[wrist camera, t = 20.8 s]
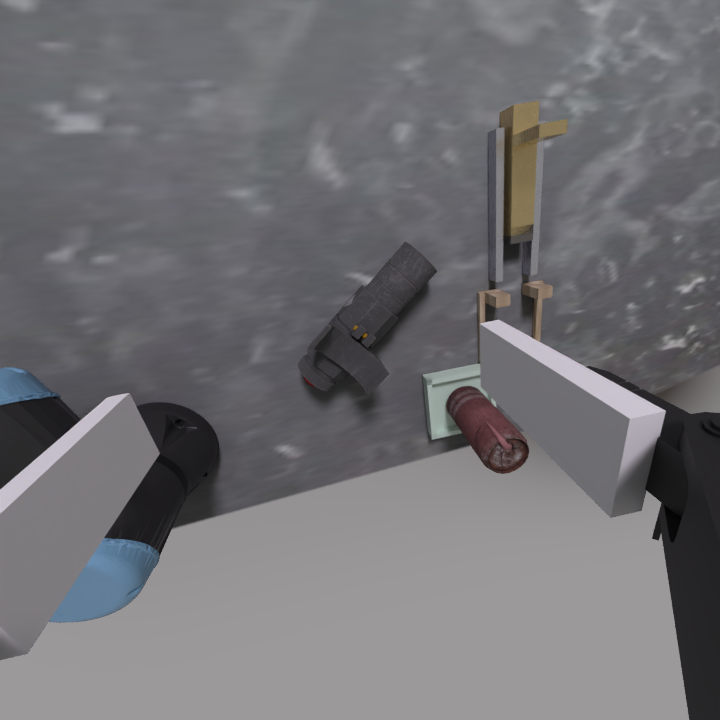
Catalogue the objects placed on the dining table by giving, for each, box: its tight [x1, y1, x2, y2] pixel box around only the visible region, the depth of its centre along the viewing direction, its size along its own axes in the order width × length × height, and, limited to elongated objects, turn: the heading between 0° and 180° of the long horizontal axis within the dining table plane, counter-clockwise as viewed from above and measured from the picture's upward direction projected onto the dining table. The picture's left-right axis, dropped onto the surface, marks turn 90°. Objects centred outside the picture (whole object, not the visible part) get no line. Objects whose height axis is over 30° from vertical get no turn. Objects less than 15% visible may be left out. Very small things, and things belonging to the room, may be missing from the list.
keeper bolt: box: [500, 101, 568, 244], centre depth 40 cm, size 3×15×8 cm, turn 9°
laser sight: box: [298, 242, 437, 395], centre depth 43 cm, size 10×22×10 cm, turn 138°
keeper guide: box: [488, 120, 545, 282], centre depth 44 cm, size 6×18×2 cm, turn 9°
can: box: [446, 386, 529, 474], centre depth 48 cm, size 6×6×14 cm
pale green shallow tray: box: [422, 363, 496, 440], centre depth 54 cm, size 11×11×2 cm
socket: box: [477, 280, 553, 361], centre depth 49 cm, size 10×11×4 cm
